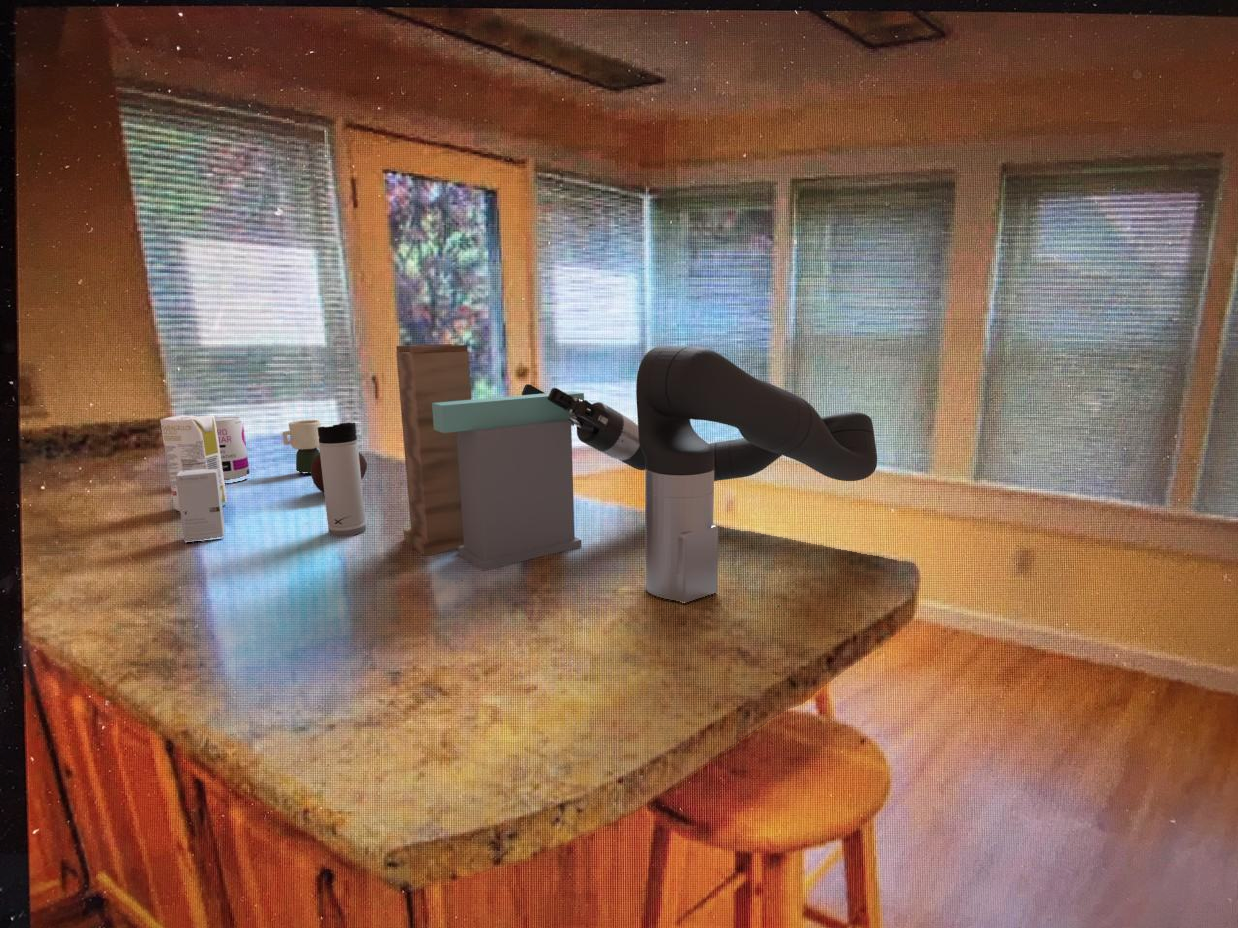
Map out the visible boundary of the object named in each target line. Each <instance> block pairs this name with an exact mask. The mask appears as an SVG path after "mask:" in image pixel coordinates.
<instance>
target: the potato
mask: <svg viewBox="0 0 1238 928" xmlns="http://www.w3.org/2000/svg"><path fill="white" fill-rule="evenodd" d="M359 462H360V472H361V481H363V479H364V476H365V475H366V472H367V470H368V469H367V467H368V463H367V461H366V458H365V456H364V455H363V454H362V453H360V452H359ZM310 476H311V478H312V481H313V484H314V485H315V486H316V488H317V489H318V490H319V491H320V492H321V493H323V494H324V485H323V476H322V467H321V458H320V453H319V454H318V455H317V456H316V458H315V459H314V460H313V463H312V466H311V473H310Z"/></svg>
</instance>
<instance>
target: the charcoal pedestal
mask: <svg viewBox="0 0 1238 928" xmlns="http://www.w3.org/2000/svg"><path fill="white" fill-rule="evenodd" d="M572 432H573V431H572V426H571V421H569V420H557V421H548V422H539V423H530V424H521V425H512V426H503V427H494V428H485V429H476V430H467V431H458V432H457V448H458V463H459V478H460V493H461V508H462V523H463V538H464V545H462V546H457V547H458V549H457V554H458V555H460V556H461V557H462V558H463V559H465V560H466V561H468V562H470V563H471V565H472V564H473V565H474V566H476V567H477V568H478V569H479V570H481V571H482V572H483V571H487V570H488V571H489V570H492V569H496V568H499V567H504V566H509V565H512V564H516V563H520V562H524V561H529V560H532V559H533V560H534V559H537V558H542V557H545V556H550V555H554V554H557V553H561V552H565V551H569V550H574V549H577V548H578V549H579V548H581V547H582V539H580V538H578V537H577V536H575V534H576V533H575V506H574V505H575V504H574V499H575V498H574V473H573V472H574V471H573V441H572V439H573V438H572Z"/></svg>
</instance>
